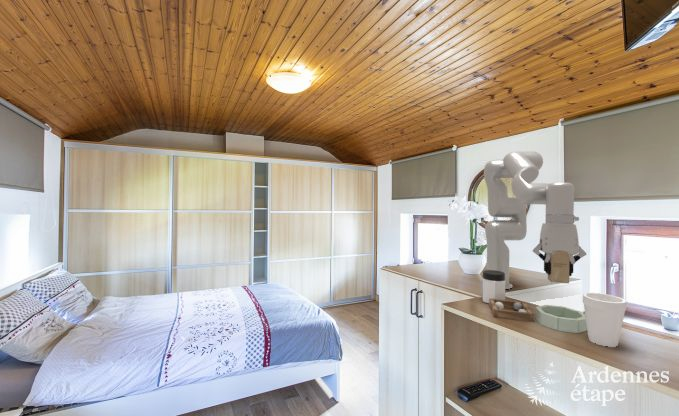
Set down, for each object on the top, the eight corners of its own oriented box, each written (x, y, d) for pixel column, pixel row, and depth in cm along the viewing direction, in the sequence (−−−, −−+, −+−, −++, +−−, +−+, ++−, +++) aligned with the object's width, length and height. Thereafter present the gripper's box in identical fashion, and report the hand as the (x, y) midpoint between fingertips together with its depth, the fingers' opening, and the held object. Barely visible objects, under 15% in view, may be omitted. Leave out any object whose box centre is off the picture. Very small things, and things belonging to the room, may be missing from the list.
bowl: (532, 314, 108) (533, 303, 108) (576, 319, 104) (576, 307, 104) (543, 328, 96) (543, 316, 96) (593, 335, 92) (593, 322, 92)
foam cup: (629, 353, 81) (630, 305, 81) (585, 344, 86) (586, 299, 85) (619, 339, 89) (621, 295, 89) (580, 332, 94) (580, 290, 94)
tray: (489, 305, 118) (489, 298, 118) (524, 308, 114) (524, 302, 114) (494, 317, 106) (494, 310, 106) (533, 321, 102) (533, 314, 102)
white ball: (516, 315, 107) (516, 307, 107) (526, 316, 106) (526, 308, 106) (518, 318, 104) (518, 310, 104) (528, 319, 103) (528, 311, 103)
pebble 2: (512, 308, 114) (512, 300, 114) (521, 309, 113) (521, 301, 113) (514, 311, 112) (514, 303, 111) (523, 312, 111) (523, 304, 110)
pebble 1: (494, 302, 115) (495, 299, 113) (502, 304, 114) (504, 301, 112) (494, 310, 114) (495, 307, 111) (503, 312, 113) (504, 309, 110)
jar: (509, 302, 121) (509, 272, 121) (500, 306, 116) (500, 275, 116) (486, 296, 128) (487, 268, 128) (477, 300, 123) (477, 271, 123)
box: (551, 282, 99) (550, 248, 99) (547, 279, 103) (547, 247, 103) (570, 283, 97) (570, 249, 97) (565, 280, 101) (565, 247, 101)
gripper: (586, 219, 100) (584, 274, 101) (526, 218, 106) (526, 269, 107) (596, 221, 93) (594, 279, 94) (532, 220, 99) (531, 274, 100)
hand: (558, 273), depth 100 cm, fingers closed on box, 5 cm apart
